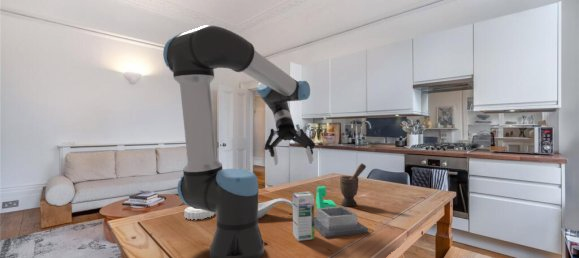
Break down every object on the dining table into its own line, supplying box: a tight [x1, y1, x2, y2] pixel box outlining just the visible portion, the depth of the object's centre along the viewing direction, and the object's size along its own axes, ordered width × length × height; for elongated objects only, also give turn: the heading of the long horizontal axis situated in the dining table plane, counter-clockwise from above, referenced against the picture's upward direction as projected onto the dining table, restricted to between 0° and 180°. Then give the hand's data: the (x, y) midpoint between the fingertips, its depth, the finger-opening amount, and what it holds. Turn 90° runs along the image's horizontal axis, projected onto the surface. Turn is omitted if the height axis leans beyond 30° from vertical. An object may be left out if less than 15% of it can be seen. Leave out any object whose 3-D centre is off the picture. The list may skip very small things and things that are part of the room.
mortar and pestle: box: [339, 163, 367, 207], centre depth 122 cm, size 12×9×20 cm
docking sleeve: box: [314, 205, 369, 239], centre depth 93 cm, size 16×16×6 cm
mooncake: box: [183, 206, 216, 221], centre depth 107 cm, size 12×12×4 cm
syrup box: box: [292, 190, 315, 242], centre depth 84 cm, size 6×6×14 cm
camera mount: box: [315, 185, 338, 209], centre depth 115 cm, size 12×8×10 cm, turn 3°
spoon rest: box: [258, 197, 293, 219], centre depth 106 cm, size 24×12×7 cm, turn 92°
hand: (294, 162), depth 95 cm, fingers open, 13 cm apart
